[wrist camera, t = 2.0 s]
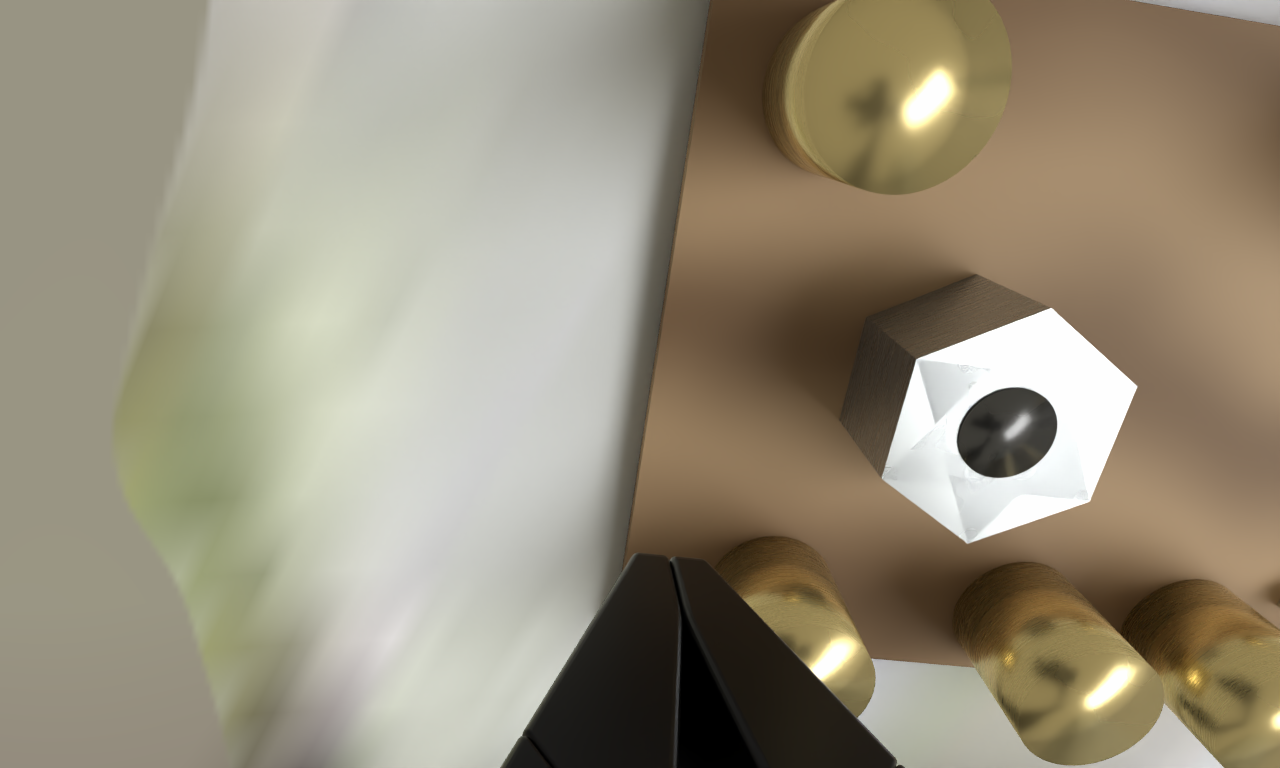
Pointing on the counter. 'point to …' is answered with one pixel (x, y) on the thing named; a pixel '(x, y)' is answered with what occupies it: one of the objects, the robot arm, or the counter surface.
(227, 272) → the counter surface
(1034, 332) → the steel nut
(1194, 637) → the brass spacers
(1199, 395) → the walnut board
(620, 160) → the counter surface
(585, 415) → the counter surface
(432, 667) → the counter surface
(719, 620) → the robot arm
